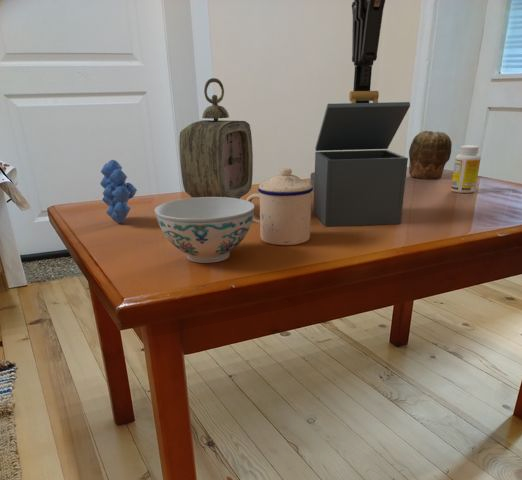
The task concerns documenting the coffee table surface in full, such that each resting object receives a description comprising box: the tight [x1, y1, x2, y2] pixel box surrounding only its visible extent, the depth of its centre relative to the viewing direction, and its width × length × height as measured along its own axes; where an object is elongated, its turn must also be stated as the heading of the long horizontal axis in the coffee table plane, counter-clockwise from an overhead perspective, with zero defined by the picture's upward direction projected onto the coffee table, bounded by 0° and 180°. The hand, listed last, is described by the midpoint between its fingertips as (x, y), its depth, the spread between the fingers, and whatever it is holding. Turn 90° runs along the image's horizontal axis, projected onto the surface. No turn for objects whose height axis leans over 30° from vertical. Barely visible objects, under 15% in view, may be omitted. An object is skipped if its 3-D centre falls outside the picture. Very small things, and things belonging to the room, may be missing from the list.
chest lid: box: [314, 90, 411, 152], centre depth 95 cm, size 13×15×5 cm
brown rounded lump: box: [408, 130, 453, 180], centre depth 139 cm, size 11×11×12 cm
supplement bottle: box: [450, 144, 482, 194], centre depth 121 cm, size 6×6×10 cm
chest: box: [312, 149, 409, 227], centre depth 99 cm, size 13×15×12 cm
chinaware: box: [154, 197, 256, 264], centre depth 78 cm, size 15×15×8 cm
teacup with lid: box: [246, 167, 313, 246], centre depth 86 cm, size 12×9×12 cm
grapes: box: [99, 159, 138, 224], centre depth 98 cm, size 12×7×12 cm, turn 30°
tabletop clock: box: [178, 77, 254, 199], centre depth 100 cm, size 14×9×25 cm, turn 155°
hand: (360, 106), depth 93 cm, fingers closed
